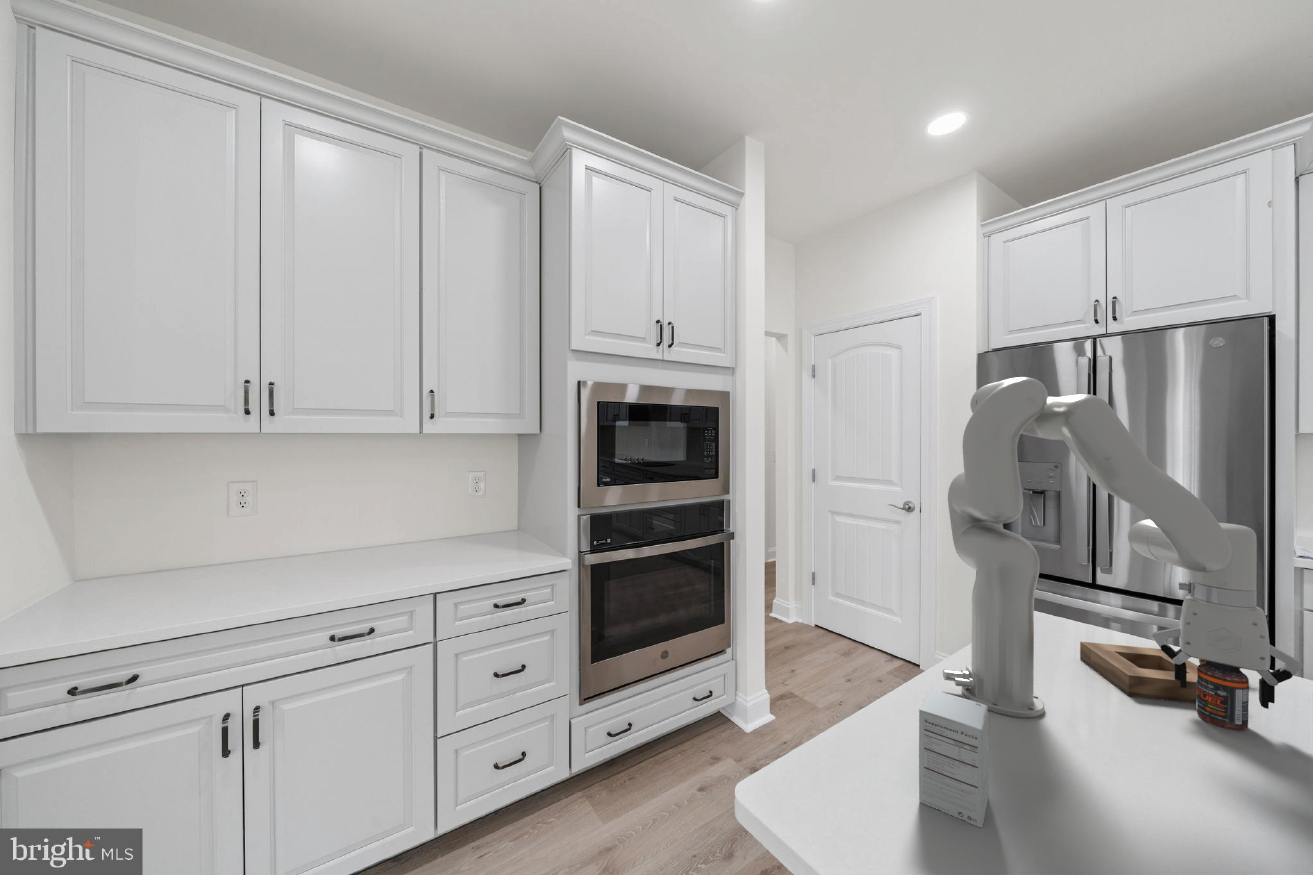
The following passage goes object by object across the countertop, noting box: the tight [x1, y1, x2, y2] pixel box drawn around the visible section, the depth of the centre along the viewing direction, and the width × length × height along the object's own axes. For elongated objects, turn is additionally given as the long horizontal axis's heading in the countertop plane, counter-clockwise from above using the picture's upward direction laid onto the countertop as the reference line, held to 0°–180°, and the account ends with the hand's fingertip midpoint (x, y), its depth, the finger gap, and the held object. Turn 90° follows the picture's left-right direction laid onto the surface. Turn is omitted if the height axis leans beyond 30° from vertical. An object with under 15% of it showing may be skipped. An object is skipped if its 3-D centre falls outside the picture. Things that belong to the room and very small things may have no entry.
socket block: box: [1079, 641, 1199, 705], centre depth 99 cm, size 16×16×4 cm
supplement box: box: [918, 688, 989, 829], centre depth 66 cm, size 7×7×13 cm
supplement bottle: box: [1195, 661, 1250, 731], centre depth 85 cm, size 6×6×11 cm
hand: (1221, 694), depth 85 cm, fingers open, 8 cm apart
